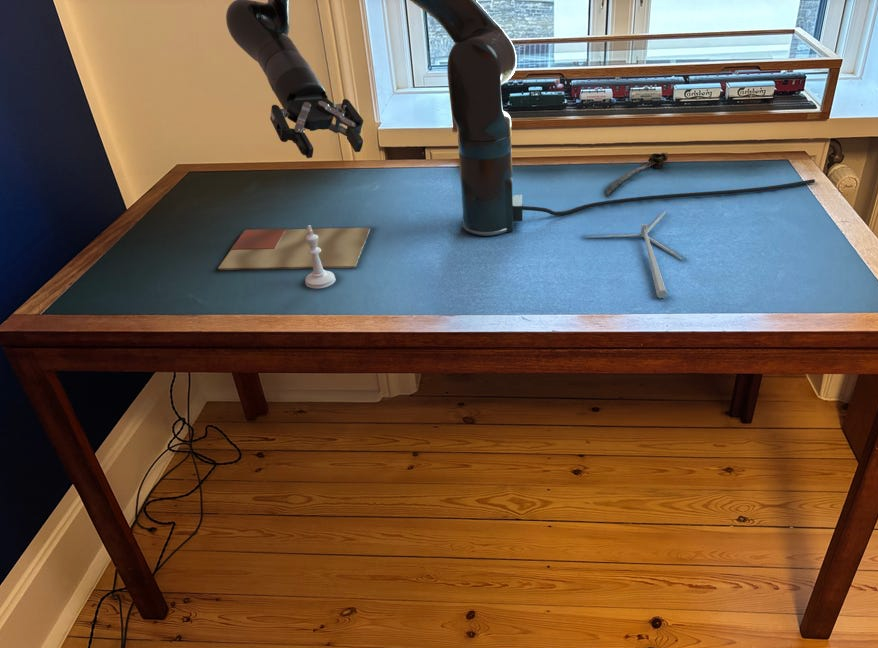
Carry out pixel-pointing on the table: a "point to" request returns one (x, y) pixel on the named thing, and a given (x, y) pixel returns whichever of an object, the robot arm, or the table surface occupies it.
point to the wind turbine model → (651, 256)
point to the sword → (638, 170)
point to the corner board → (295, 249)
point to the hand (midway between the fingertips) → (335, 151)
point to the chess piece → (317, 265)
